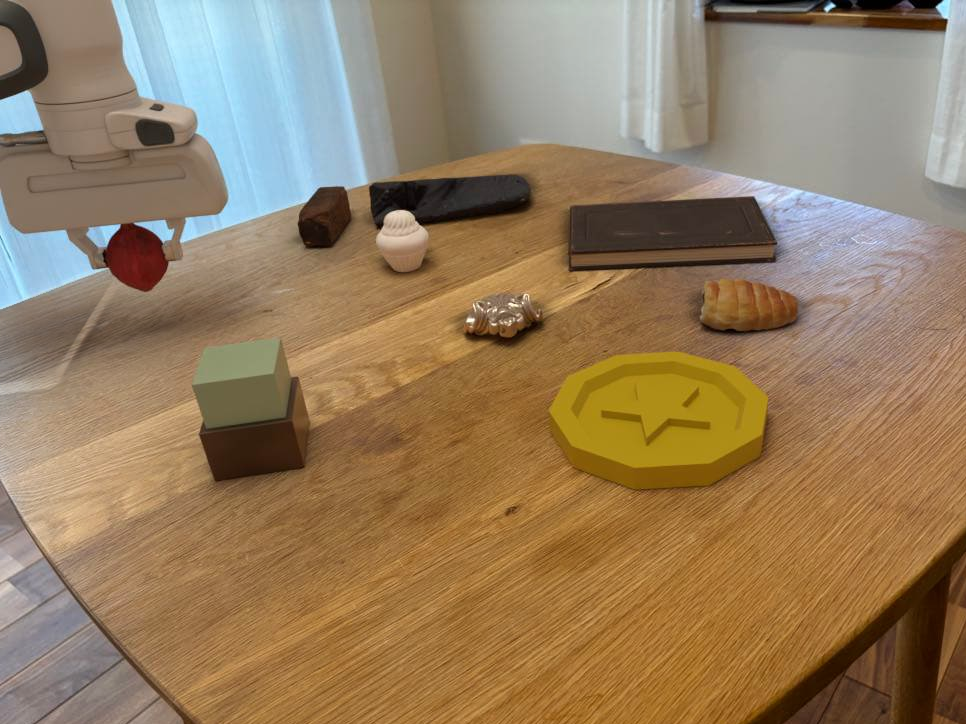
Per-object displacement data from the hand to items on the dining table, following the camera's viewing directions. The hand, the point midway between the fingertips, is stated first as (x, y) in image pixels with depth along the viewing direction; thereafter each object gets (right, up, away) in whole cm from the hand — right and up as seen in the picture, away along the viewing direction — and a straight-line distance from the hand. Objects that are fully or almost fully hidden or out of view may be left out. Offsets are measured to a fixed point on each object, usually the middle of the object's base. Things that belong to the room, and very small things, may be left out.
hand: (139, 263), depth 88 cm
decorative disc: (+51, -16, -18) cm, 56 cm away
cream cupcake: (+25, +2, +14) cm, 29 cm away
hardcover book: (+56, +5, +15) cm, 58 cm away
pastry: (+61, -6, -3) cm, 61 cm away
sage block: (+18, -14, -20) cm, 30 cm away
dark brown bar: (+13, +8, +25) cm, 29 cm away
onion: (0, -3, +2) cm, 3 cm away
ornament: (+38, -7, -2) cm, 38 cm away
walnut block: (+18, -18, -17) cm, 31 cm away
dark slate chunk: (+29, +13, +31) cm, 44 cm away
